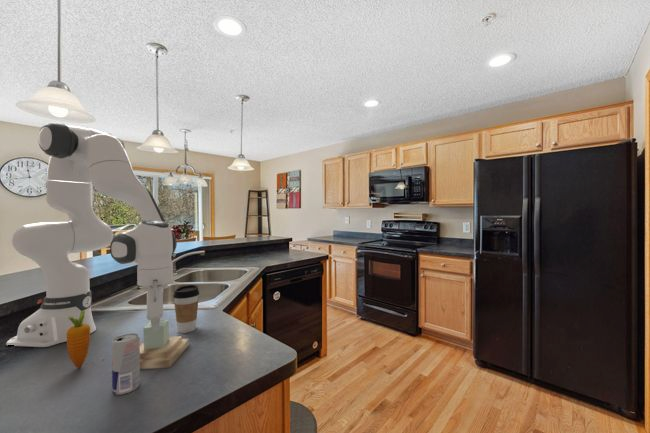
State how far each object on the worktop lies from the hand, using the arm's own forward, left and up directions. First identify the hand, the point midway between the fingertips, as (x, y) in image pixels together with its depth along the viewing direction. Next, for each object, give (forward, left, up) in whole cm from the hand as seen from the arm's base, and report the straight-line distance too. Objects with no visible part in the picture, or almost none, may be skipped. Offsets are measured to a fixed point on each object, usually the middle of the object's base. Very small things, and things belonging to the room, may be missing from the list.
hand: (155, 324), depth 81 cm
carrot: (-18, -4, -10) cm, 21 cm away
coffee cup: (+1, +19, -10) cm, 21 cm away
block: (0, 0, -6) cm, 6 cm away
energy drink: (+1, -15, -10) cm, 18 cm away
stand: (0, 0, -9) cm, 9 cm away
